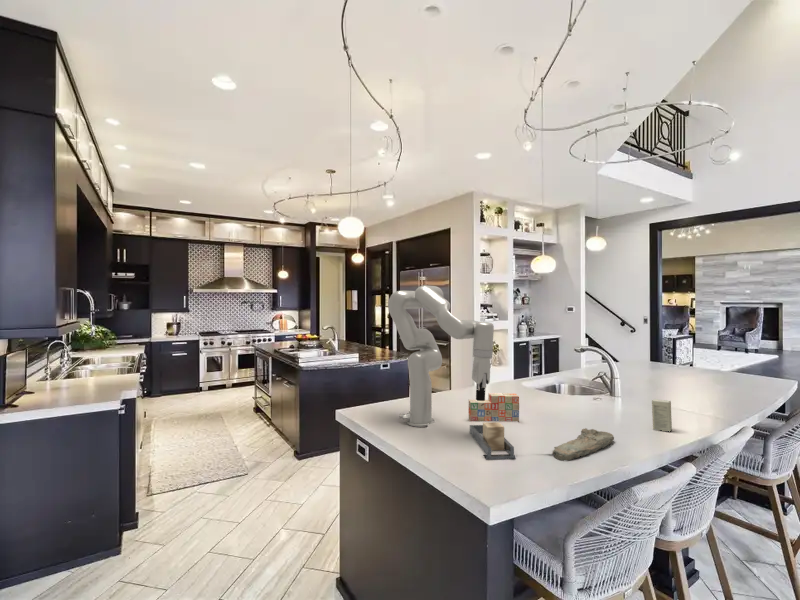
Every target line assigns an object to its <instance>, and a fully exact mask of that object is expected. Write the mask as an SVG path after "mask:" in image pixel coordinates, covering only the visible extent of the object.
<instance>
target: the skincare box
mask: <svg viewBox="0 0 800 600" xmlns="http://www.w3.org/2000/svg"><path fill="white" fill-rule="evenodd" d="M651 406H652V407H651V409H652V411H651V413H652V415H651V416H652V430H653V429H657V430H656V431H659V430H662V431H661V432H665V431H669V432H668V433H670V431H671V430H672V431H673V423H672V420H673V419H672V402H671V400H667V399H656V398H654V399H651ZM672 431H671V432H672Z"/></svg>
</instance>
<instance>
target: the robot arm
mask: <svg viewBox="0 0 800 600" xmlns="http://www.w3.org/2000/svg"><path fill="white" fill-rule="evenodd" d="M444 295H445V294H444V291H443V290H442V288H440V287H439V286H436V285H420V286H419V287H417V288H416V289H415V290H397V291H395V292H393V293H392V294H391V295H390V296H389V298H388V303H387V304H388V305H387V307H388V312H389V315H390V317H391V318H392V321H393V322H394V326H395V327H396V331H397V333H398V334H399V337H400V340H401V343H402V344H403V347H404V348H405V349H406V350H408V351H415V352H413V353H411V354H410V355H409V357H408V359H407V368H408V374H409V411H408V412H407V413H399V419H402V420H406V424H407V425H409V426H410V427H411V426H412V427H417V428H418V427H419V428H427V427H429V426H428V425H433V424H434V423H436V420H435V419H434V418H433V417H432V416H433V415H432V414H433V413H432V411H433V410H432V409H433V408H432V405H433V404H432V403H433V400H432V399H433V398H432V397H433V395H432V393H433V392H432V388H433V387H432V379H431V376H430V373H429V372H433V371H437V370H439V369H440V368H441V367H442V365H443V357H442V353H441V351H440V349H439V345H438V344H437V342H436V339H435V337H434V335H433V333H431V331H430V330H428V329H426V328H425V327H424V328H419V327H417V324H416V323H415V320H414V318H413V317H412V315H411V314H410V313H409V312H408V310H418V309H423V308H424V309H426V311H428V312H429V313H430V314H431V315H433V316H434V318H435V320H436V322H437V324H438V326H439V327H440V328H441V330H442V331H444V332H445V333H446V334H447V335H449V336H450V337H451V338H453V339H456V340H469V339H473V342H472V344H473V345H472V357H473V361H472V362H473V363H472V371H471V379H472V381H474V383H476V384H475V385H476V389H475V390H476V391H475V400H477V401H485V400H486V388H487V385H489V384H490V382H491V381H490V380H491V359H492V358H493V352H494V351H493V348H494V329H495V327H494V324H493V323H492V322H488V321H477V320H474V319H462V320H459V318H457V317H456V316H454V315H453V314H452V313H451V312H450V309H451V303H450V302H449V301H448V300H447V299H446V298H445V297H444Z"/></svg>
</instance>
